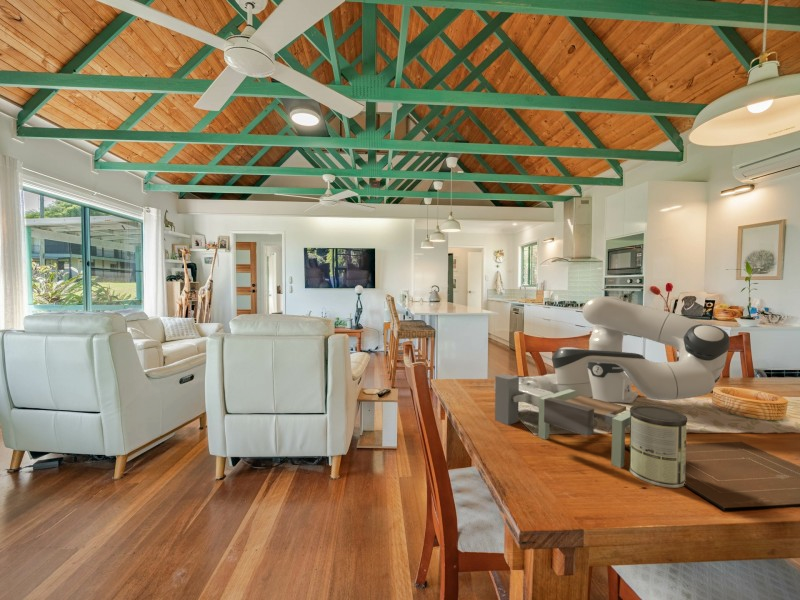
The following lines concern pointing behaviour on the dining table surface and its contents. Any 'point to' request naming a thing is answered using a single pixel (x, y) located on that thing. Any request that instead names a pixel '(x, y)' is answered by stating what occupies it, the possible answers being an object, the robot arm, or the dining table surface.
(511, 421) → the tall grey upright prism
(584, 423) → the trapdoor
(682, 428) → the coffee can
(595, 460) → the dining table surface
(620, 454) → the frame
